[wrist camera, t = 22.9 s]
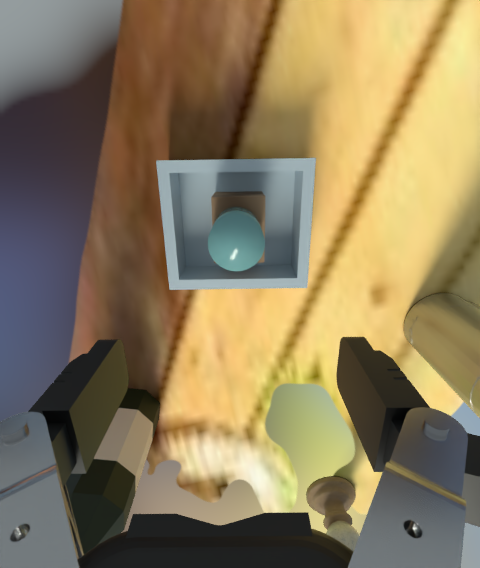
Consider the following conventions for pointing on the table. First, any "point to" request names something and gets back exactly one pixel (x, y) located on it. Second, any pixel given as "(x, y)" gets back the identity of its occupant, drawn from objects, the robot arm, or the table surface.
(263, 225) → the walnut block
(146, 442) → the wine bottle
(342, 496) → the candle holder
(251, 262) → the teal glossy cylinder
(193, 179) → the blue-grey tote
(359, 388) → the robot arm
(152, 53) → the table surface
